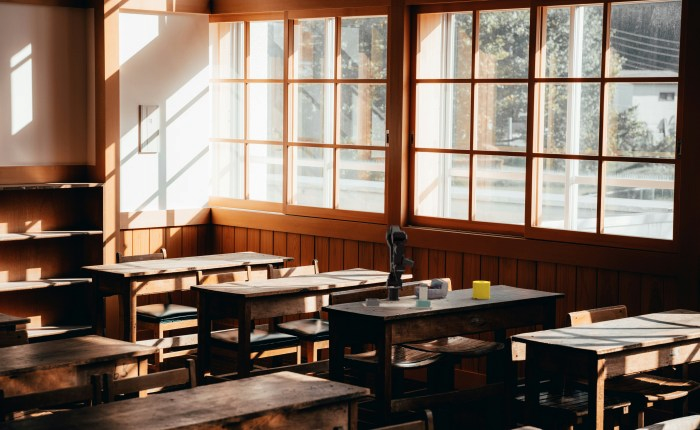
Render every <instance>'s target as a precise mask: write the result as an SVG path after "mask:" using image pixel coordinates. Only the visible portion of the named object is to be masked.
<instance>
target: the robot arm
mask: <svg viewBox="0 0 700 430" xmlns="http://www.w3.org/2000/svg"><path fill="white" fill-rule="evenodd" d="M385 240H386V244H387V246H388V247H389V266H390V267H389V268H390V269H389V270H390V272H389V273H388V276H387V278H386V281H385V282H386V283H385V289H387V290H388V297H387V300H388V301H400V298H399V296H400V295H399V292H400V290H403V282H404V281H403V278H402V276H403V274H404V273H405V272H406V270H407V267H406V266H408V267H409V268H413V266H414V263H415V261H413V260H412V259H411V257H406V258H405V254H406V252H407V248H406V246H405V245H406V244H407V243H408V235H407V233H406V232H405V230H401V229H400V225H390V227H389V228H388V229H387V230H386V233H385Z"/></svg>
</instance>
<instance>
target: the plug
mask: <svg viewBox="0 0 700 430" xmlns="http://www.w3.org/2000/svg"><path fill="white" fill-rule="evenodd" d="M419 287H420V288H419V297H418V300H419V301H427V300H428V299H427V293H428V283H419Z"/></svg>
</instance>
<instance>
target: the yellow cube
mask: <svg viewBox="0 0 700 430" xmlns="http://www.w3.org/2000/svg"><path fill="white" fill-rule="evenodd" d="M472 298H473V299H475V298H477V299H476V300H489V299H491V281H486V280H474V281H472Z"/></svg>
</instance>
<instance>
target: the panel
mask: <svg viewBox="0 0 700 430" xmlns="http://www.w3.org/2000/svg"><path fill="white" fill-rule="evenodd" d="M362 305H363V307H365V308H366V307H369V308H371V307H372V308H373V307H374V308H375V307H376V308H377V307H378V308H380V307H381V308H387V307H389V308H406V310H415V309H416V310H419V309H420V310H432V309H433V306H432V305H431V301H430V299H427V301H419V299H416V300H415V303H381V302H380V299H379V298H365V303H363V302H362Z"/></svg>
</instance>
